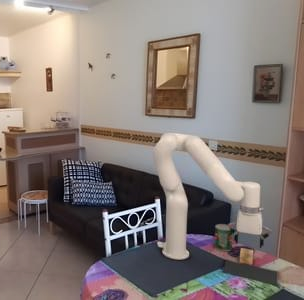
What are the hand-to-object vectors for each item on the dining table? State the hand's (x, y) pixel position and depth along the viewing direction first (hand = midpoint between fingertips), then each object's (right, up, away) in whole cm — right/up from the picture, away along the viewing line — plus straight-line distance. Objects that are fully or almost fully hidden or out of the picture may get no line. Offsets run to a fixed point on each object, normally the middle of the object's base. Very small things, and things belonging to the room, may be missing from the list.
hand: (248, 244), depth 147 cm
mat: (-4, -10, -8) cm, 13 cm away
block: (0, -8, +1) cm, 8 cm away
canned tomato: (-4, -6, +16) cm, 17 cm away
